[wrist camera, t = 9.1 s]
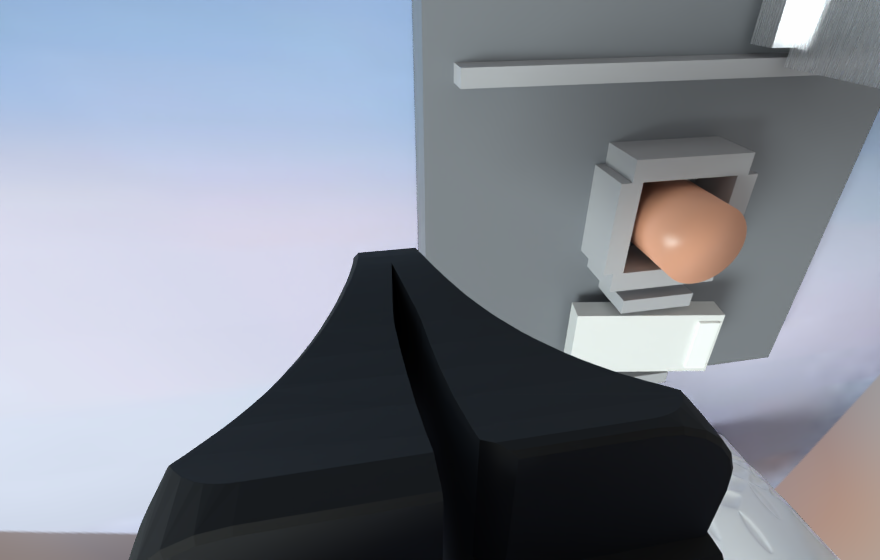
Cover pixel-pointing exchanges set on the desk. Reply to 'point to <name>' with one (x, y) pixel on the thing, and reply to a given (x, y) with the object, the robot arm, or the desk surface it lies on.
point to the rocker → (644, 336)
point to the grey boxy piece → (824, 37)
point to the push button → (687, 230)
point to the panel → (620, 156)
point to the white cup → (761, 521)
